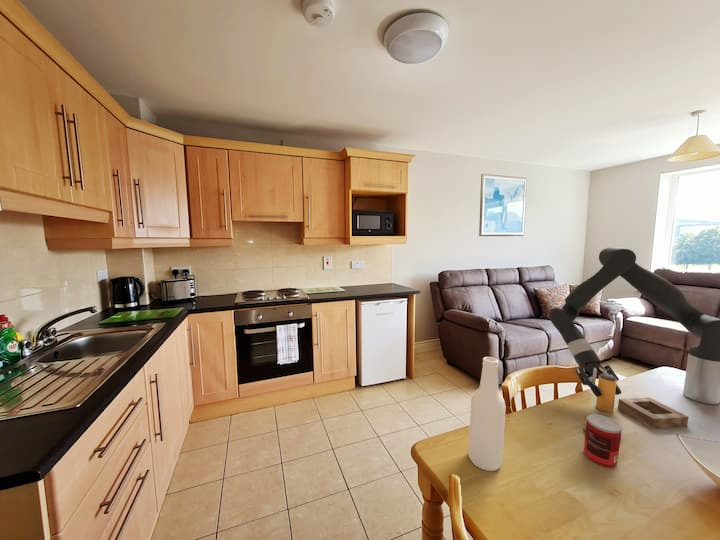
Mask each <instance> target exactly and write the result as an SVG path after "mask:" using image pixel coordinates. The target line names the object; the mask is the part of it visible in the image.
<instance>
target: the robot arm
mask: <svg viewBox="0 0 720 540" xmlns="http://www.w3.org/2000/svg"><path fill="white" fill-rule="evenodd" d="M598 261H599V263H600V264H601V265H602V267H601V268H600V269H599V270H598V271H597V272H596V273H594V274H593V275H592V276H590V277H589V278H587V279H586V280H584V281H583V282H581V283H580V284H578V285H577V286H576V287H575V288H574V289H573V290H572V291H571V292H570V293H569V294H568V295H567V296H566V297H565V298H564V303H563V304H564V305H562V307H557V306H556V307H552V308H551V309H550V310H549V312H548V318H549V320H550V322H551V324H553V326H554V327H555V329H556V330H557V331H558V332H559V333H560V335H561V337H562V340H563V341H564V342H565V344H566V346H567V348H568V351H569V352H570V353H571V355H572V357H573V359H574V361H575V362H576V363H577V365H578V368H576V369H575V372H576V374H577V376H578V378H579V380H580V381H581V384H582V386H588V387H589V388H590V390H591V391H592V393H593V395H595V397H596V398H597V397H599V396H602V393H601V392H600V390H599V388H598V385H597V384H596V380H599V375H600V374H609V375H612V376H614V377H616V380H617V382H619V380H620V378H619V377H618V376H617V374H616V373H615V372H614V370H613V369H612V367H611V366H610V365H608V364H606V365H604V366H603V365H602V364H601V359H600V357H599V356H598V354H597V353H596V351H595V350H594V348H593V347H592V345H591V344H590V342H589V341H588V340H587V339H586V337H585V336H584V334H583V332H582V331H581V330H580V329H579V328H578V327H577V326H576V325H575V324H574V322H575V320H576V319H577V317H578V315H579V314H580V312H581V311H582V309H583V308H584V307H586V305H588V303H589V302H591V300H593V299H594V298H595V296H597V295H598V294H599V293H600V292H601V291H602V290H603V289H604V288H606V287H608V285H609V284H611V283H612V282H613V281H615V280H616V279H617V278H618V277H621V278H622V279H624V280H625V281H626V282H627V283H628V284H629V285H630V286H631V287H633V288H634V289H635V290H636V291H638V292H639V293H640V294H641V295H642V296H644V297H645V298H646V299H648V300H649V301H650V302H652V303H653V304H654V305H655V306H657V307H658V308H660V309H661V310H662V311H663V312H666V313H667V314H669V315H670V316H672V317H673V318H674V319H675V320H676V321H678V322H679V324H681V325H682V326H683V327H684V328H685V329H686V330H687V331H688V332H689V333H691V334H692V335H694V336H695V337H698V338H700V340H699V343H698V345H692V346H690V347H689V349H688V354H687V363H686V370H685V377H684V383H683V390H682V392H683V393H682V394H683V396H685V397H686V398H688V399H690V400H693V401H695V402H699V403H702V404H707V405H719V403H720V318H718V317H715V316H711V315H708V314H707V313H704V312H702V311H700V310H699V309H697V308H696V307H695V306H693V305H691V304H690V302H688V300H687V298H686V297H685V295H684V293H683V292H682V290H680V289H679V288H678V287H677V286H676V285H674V284H673V283H671V282H670V281H669V280H667V279H666V278H664V277H662V276H660V275H659V274H656V273H655V272H652V271H650V270H648V269H646V268H645V267H643V266H641V265H639V264H638V263H636V261H637V255H636V253H635V252H634V251H633V250H632V249H629V248H626V247H620V246H610V247H606V248H603V249H602V250H601V251H600V252H599V254H598ZM621 394H622V390H621V389H620V387H619V386H618V384H617V383H616V392H615V396H617V395H621Z"/></svg>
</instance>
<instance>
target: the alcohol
mask: <svg viewBox="0 0 720 540" xmlns="http://www.w3.org/2000/svg"><path fill="white" fill-rule="evenodd" d="M499 363H500V362H499V360H498V359H497V358H495V357H492V356H484V357H483V358H482V369H481V376H480V382H479V386H478V388H477V389H476V390H475V391H473V393H472V396H471V398H470V415H469V431H468V433H469V434H468V435H469V436H468V453H467V454H468V457H469V459H470V461H471V462H472V464H473V465H474V466H476V467H477V468H479V469H480V470H482V471H487V472H494V471H495V472H496V471H497V470H498V469H499V468H501V467H502V465H503V453H504V452H503V451H504V436H505V423H506V409H507V408H506V407H507V406H506V401H505V398H504V397H503V396H502V394H501V393H500V391H499V390H500V389H499Z"/></svg>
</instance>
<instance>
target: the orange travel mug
mask: <svg viewBox="0 0 720 540" xmlns="http://www.w3.org/2000/svg"><path fill="white" fill-rule="evenodd" d="M617 382H618V381H617V380H616V377H614V376H612V375H609V374H600V375H599V379H598V381H597V384H598V385H597V387H598V388H599V390H600V392H601V393H602V396H599V397H596V399H595V400H596V401H595V407H596V409H598V410H599V411H601V412H604V413H608V414H609V413H611V414H613V413H614V409H615V406H614V405H615V399H616V394H615V392H616V384H617Z"/></svg>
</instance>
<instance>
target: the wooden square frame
mask: <svg viewBox="0 0 720 540" xmlns="http://www.w3.org/2000/svg"><path fill="white" fill-rule="evenodd" d="M617 408H618V410H621V411H622V412H624V413H625V414H627V415H629V416H630V417H632V418H634V419H636V420H637V421H639V422H641V423H642V424H644V425H646V426H647V427H649V428H650V429H653V430H656V429H657V430H658V429H670V428H671V429H672V428H686V427H688V423H689V416H688V415H686V414H684V413H682V412H680V411H678V410H676V409H674V408H672V407H670V406H668V405H666V404H663V403H662V402H661V401H658V400H656V399H654V398H653V397H635V398H634V397H633V398H631V397H630V398H619V399H618V403H617Z"/></svg>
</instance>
